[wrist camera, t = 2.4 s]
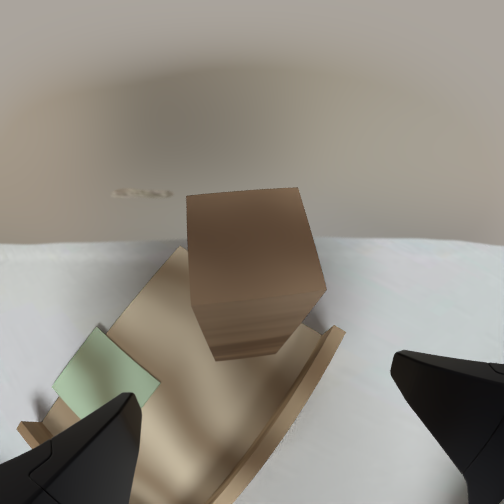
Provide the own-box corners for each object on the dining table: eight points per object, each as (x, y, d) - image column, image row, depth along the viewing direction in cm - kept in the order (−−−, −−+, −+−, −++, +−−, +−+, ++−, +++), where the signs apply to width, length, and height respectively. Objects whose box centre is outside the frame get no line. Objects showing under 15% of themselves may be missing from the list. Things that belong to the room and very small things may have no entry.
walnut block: (275, 354, 21) (327, 289, 10) (215, 361, 20) (191, 305, 9) (266, 298, 23) (297, 187, 12) (209, 305, 23) (186, 195, 11)
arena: (180, 545, 13) (173, 564, 10) (32, 420, 16) (9, 419, 13) (331, 342, 22) (345, 332, 19) (172, 242, 26) (165, 220, 23)
